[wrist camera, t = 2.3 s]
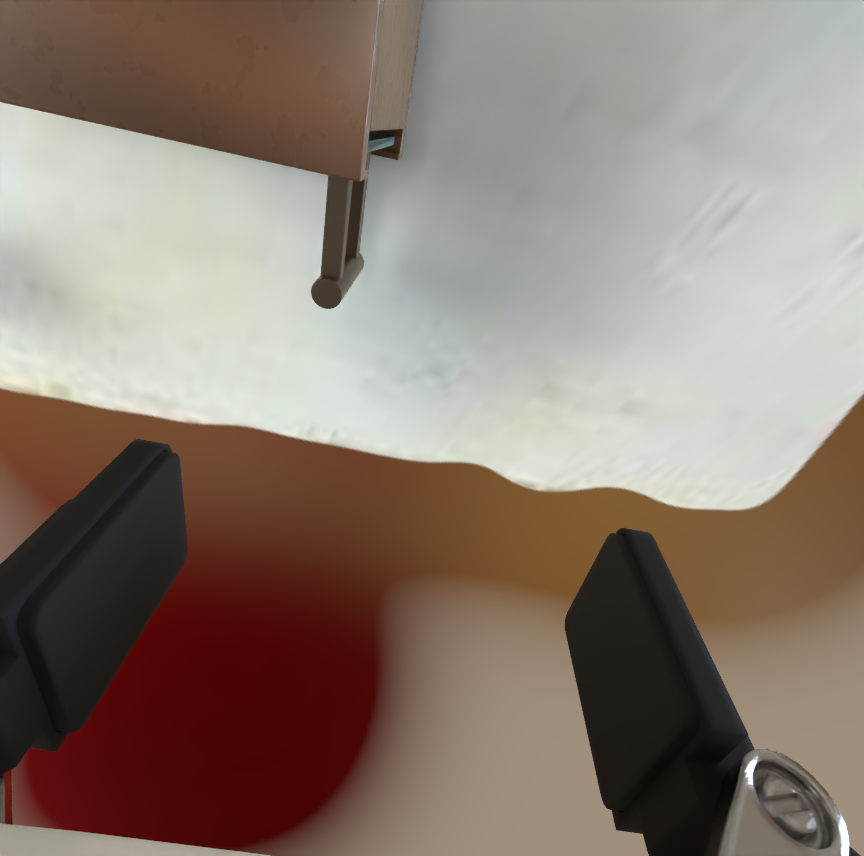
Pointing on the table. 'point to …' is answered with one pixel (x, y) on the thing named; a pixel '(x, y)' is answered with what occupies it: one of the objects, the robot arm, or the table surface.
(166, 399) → the table surface
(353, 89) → the cabinet
